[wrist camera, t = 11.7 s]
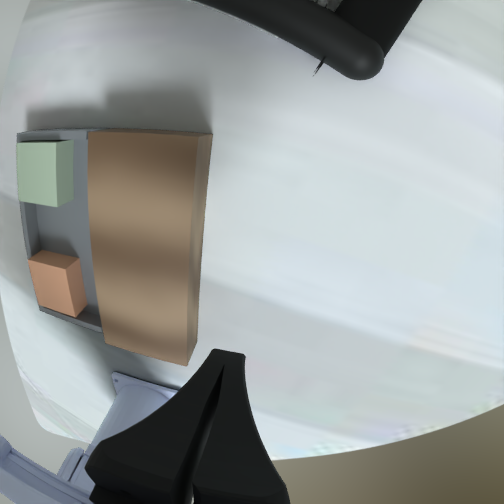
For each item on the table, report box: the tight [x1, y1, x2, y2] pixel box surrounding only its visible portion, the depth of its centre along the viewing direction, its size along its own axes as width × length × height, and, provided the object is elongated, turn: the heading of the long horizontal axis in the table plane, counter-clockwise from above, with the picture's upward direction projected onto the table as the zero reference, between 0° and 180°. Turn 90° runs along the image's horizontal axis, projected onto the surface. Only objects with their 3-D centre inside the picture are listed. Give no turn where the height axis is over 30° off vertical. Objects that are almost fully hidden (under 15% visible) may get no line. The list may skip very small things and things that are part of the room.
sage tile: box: [16, 140, 74, 207], centre depth 18 cm, size 4×4×2 cm
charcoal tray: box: [17, 128, 110, 333], centre depth 21 cm, size 16×8×2 cm, turn 172°
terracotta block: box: [28, 250, 88, 317], centre depth 22 cm, size 4×4×2 cm
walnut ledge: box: [87, 128, 213, 366], centre depth 20 cm, size 16×7×3 cm, turn 172°
